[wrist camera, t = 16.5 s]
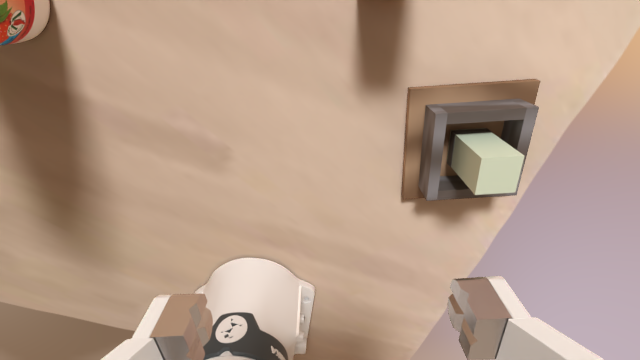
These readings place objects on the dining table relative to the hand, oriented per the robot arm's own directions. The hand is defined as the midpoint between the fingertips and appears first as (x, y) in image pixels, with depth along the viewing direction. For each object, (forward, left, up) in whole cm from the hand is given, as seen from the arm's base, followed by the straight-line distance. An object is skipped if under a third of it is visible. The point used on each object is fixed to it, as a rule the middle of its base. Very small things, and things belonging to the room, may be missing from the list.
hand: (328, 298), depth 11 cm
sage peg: (-7, -17, -28) cm, 34 cm away
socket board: (-7, -17, -29) cm, 34 cm away
